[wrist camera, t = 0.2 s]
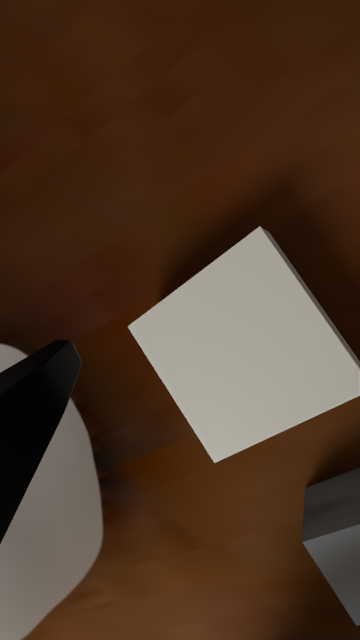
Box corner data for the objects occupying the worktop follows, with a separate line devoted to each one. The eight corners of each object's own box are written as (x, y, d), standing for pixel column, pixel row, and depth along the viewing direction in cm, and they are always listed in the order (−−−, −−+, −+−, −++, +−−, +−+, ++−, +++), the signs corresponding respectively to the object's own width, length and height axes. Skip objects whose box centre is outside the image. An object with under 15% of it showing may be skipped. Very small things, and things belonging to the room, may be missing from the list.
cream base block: (363, 366, 21) (373, 388, 17) (229, 433, 24) (214, 463, 21) (269, 232, 21) (259, 226, 18) (155, 317, 25) (127, 326, 22)
